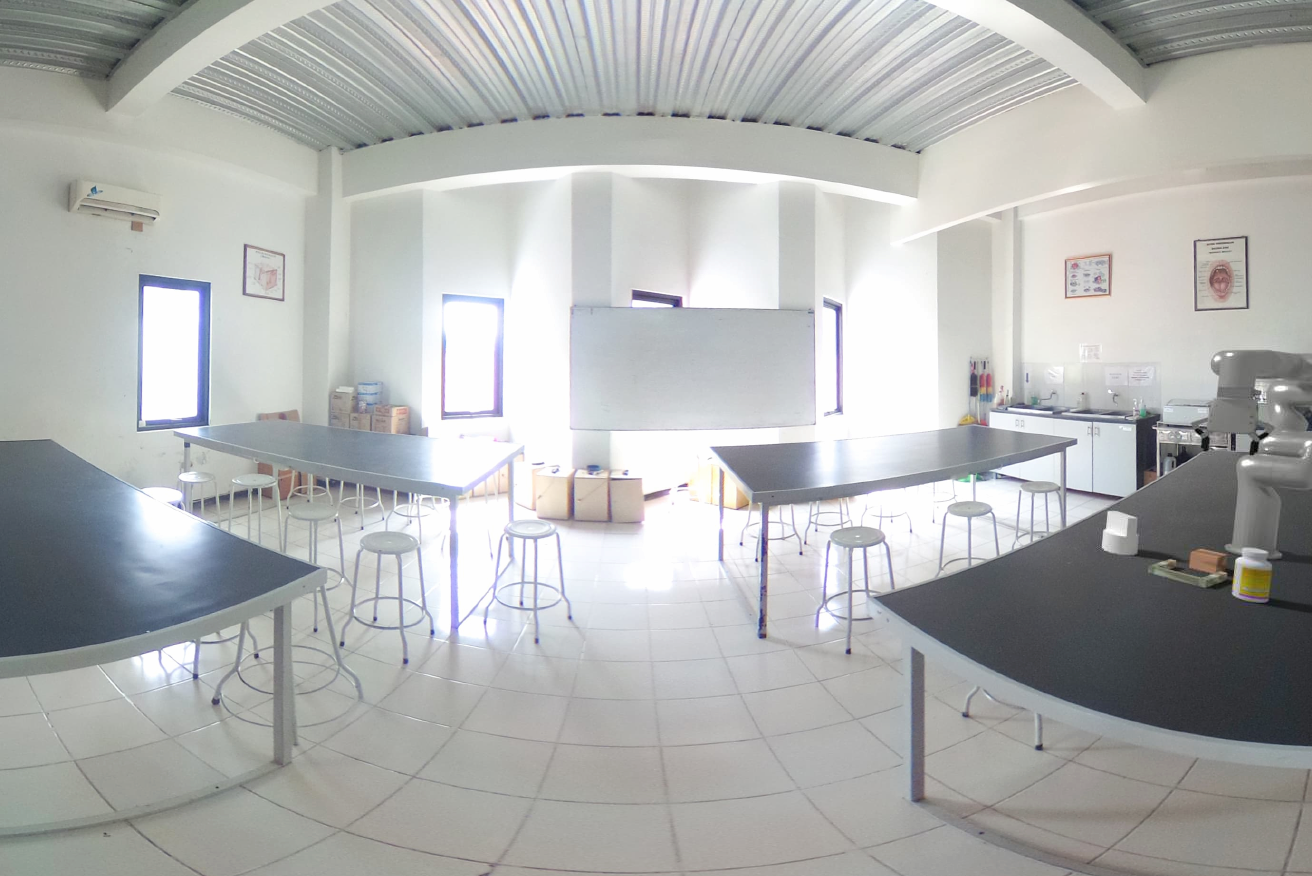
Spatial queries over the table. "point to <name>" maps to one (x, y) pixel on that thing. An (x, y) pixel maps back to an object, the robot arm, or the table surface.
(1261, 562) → the supplement bottle
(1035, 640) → the table surface
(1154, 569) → the walled lane
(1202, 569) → the terracotta block
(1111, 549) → the base with upright slab
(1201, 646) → the table surface
